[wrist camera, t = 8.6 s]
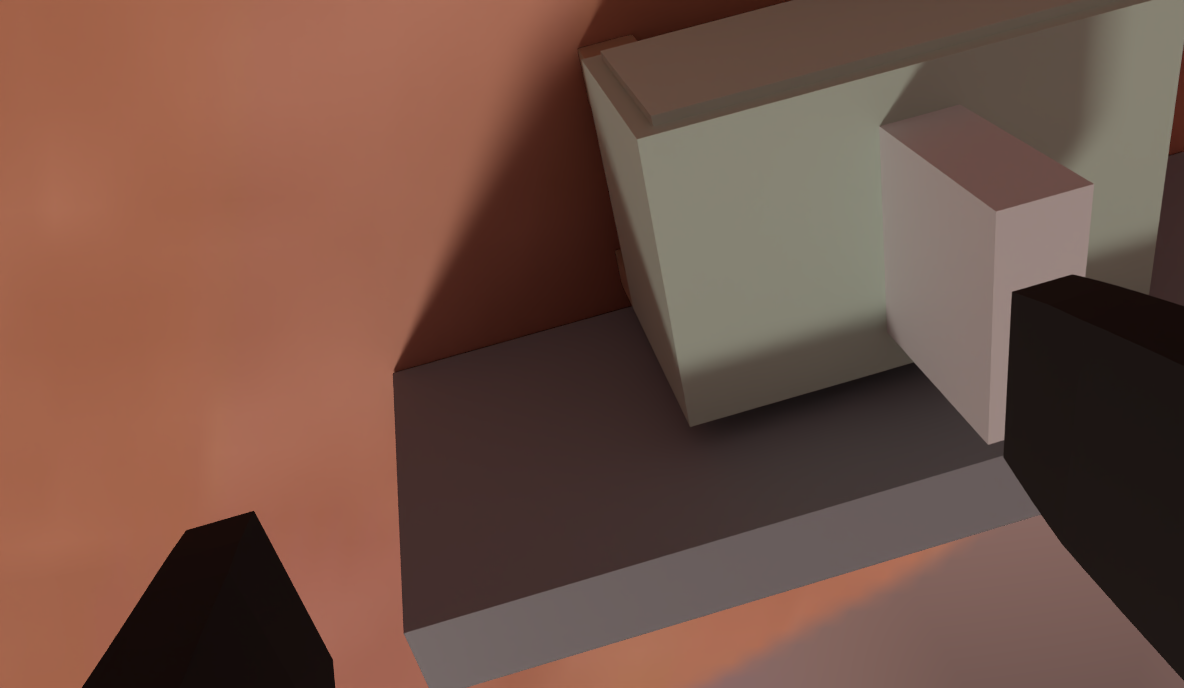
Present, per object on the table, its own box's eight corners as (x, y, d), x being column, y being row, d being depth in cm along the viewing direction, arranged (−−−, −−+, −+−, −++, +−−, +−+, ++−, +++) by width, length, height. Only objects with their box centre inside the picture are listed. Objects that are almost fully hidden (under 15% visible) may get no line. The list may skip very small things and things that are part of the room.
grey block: (621, 284, 20) (751, 556, 13) (569, 36, 17) (700, 220, 10) (987, 182, 20) (1292, 394, 14) (994, -76, 17) (1385, 30, 11)
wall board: (414, 429, 21) (433, 697, 15) (343, 245, 18) (332, 479, 12) (1194, 207, 22) (1500, 376, 16) (1226, 5, 19) (1601, 116, 13)
